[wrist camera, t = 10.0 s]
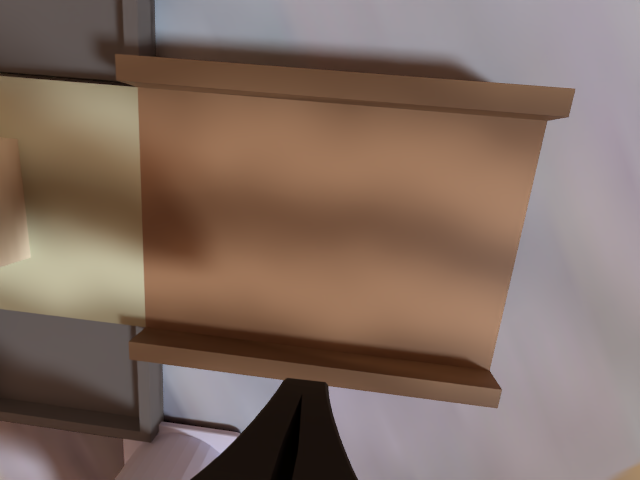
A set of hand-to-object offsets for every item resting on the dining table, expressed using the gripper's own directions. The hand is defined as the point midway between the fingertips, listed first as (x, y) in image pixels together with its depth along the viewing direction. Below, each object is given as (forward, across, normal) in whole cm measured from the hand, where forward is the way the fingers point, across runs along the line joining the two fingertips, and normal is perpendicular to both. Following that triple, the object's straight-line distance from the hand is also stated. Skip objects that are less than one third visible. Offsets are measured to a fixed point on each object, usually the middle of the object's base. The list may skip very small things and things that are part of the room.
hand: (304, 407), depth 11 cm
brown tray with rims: (+9, +8, -4) cm, 13 cm away
